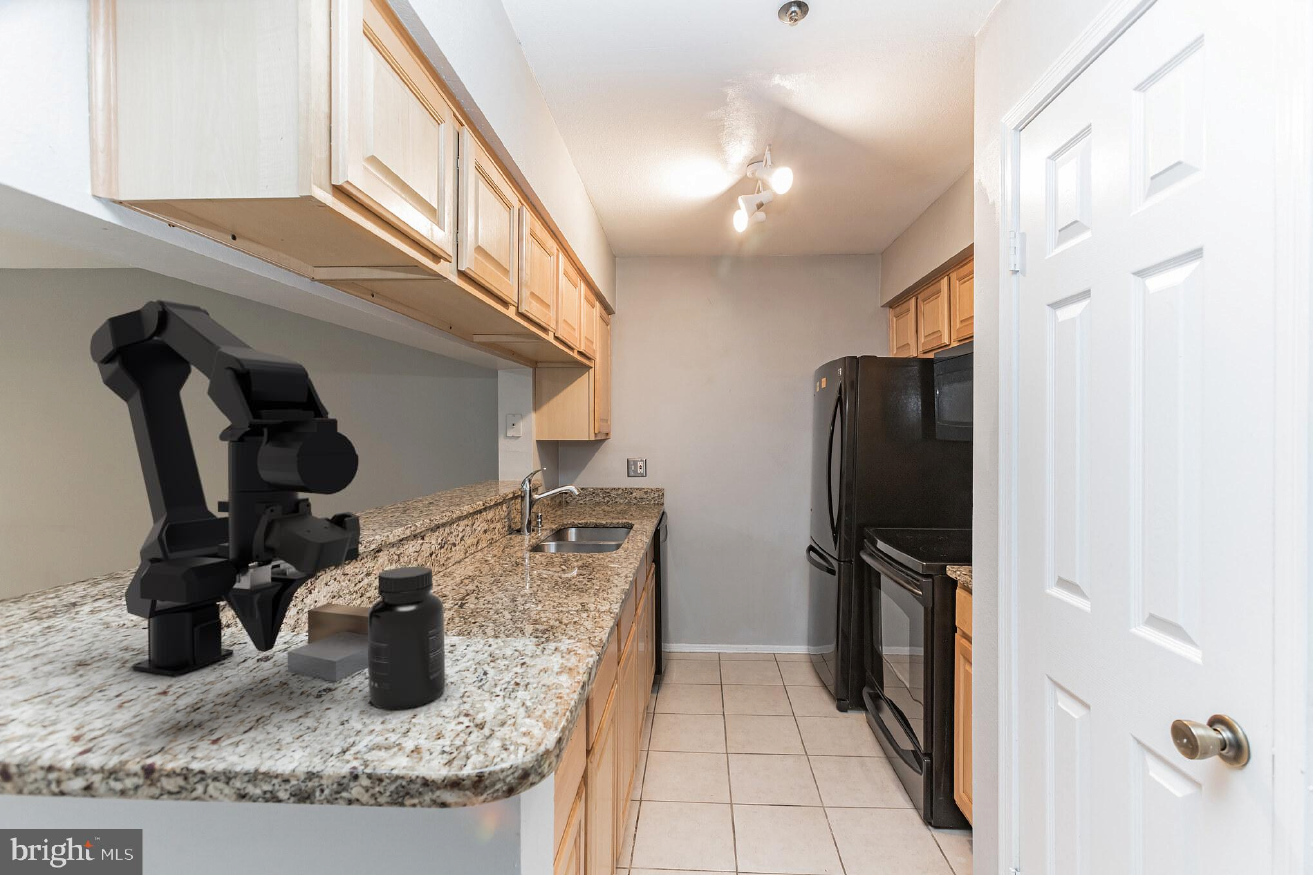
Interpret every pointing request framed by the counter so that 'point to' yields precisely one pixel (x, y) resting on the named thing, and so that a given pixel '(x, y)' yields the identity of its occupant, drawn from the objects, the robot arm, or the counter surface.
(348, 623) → the curved brown bar
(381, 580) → the supplement bottle
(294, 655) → the grey metal plate
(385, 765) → the counter surface
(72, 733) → the counter surface
